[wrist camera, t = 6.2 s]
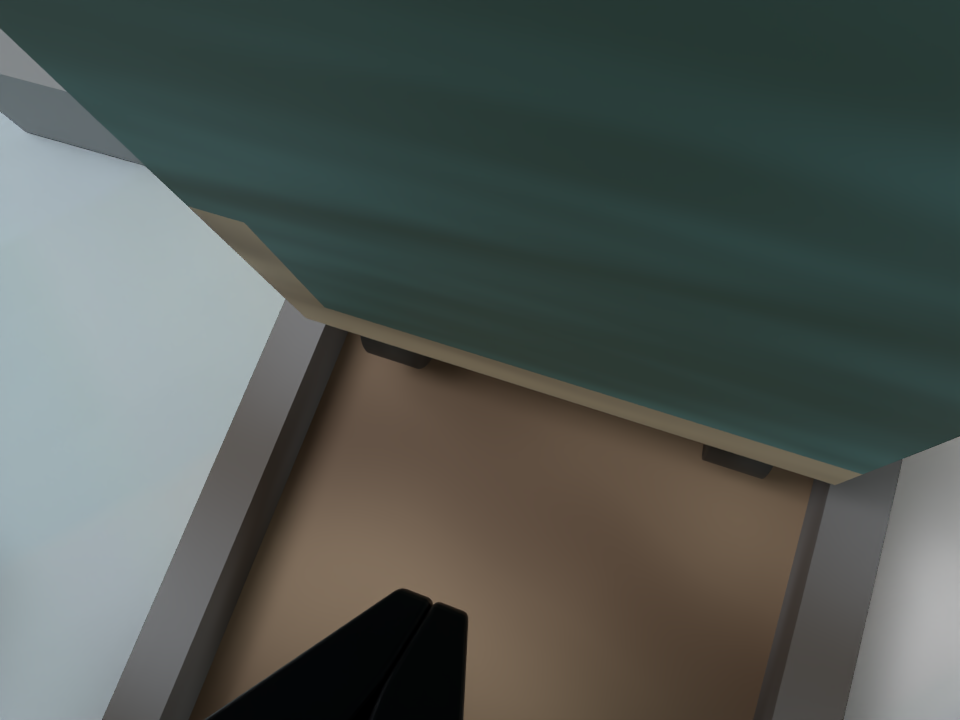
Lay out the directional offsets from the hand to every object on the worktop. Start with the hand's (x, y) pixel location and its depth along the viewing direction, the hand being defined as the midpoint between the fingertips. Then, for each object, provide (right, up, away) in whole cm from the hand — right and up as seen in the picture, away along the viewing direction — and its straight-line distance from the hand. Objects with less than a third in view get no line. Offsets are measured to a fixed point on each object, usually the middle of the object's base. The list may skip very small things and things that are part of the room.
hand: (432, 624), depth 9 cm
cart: (+3, +5, +7) cm, 10 cm away
